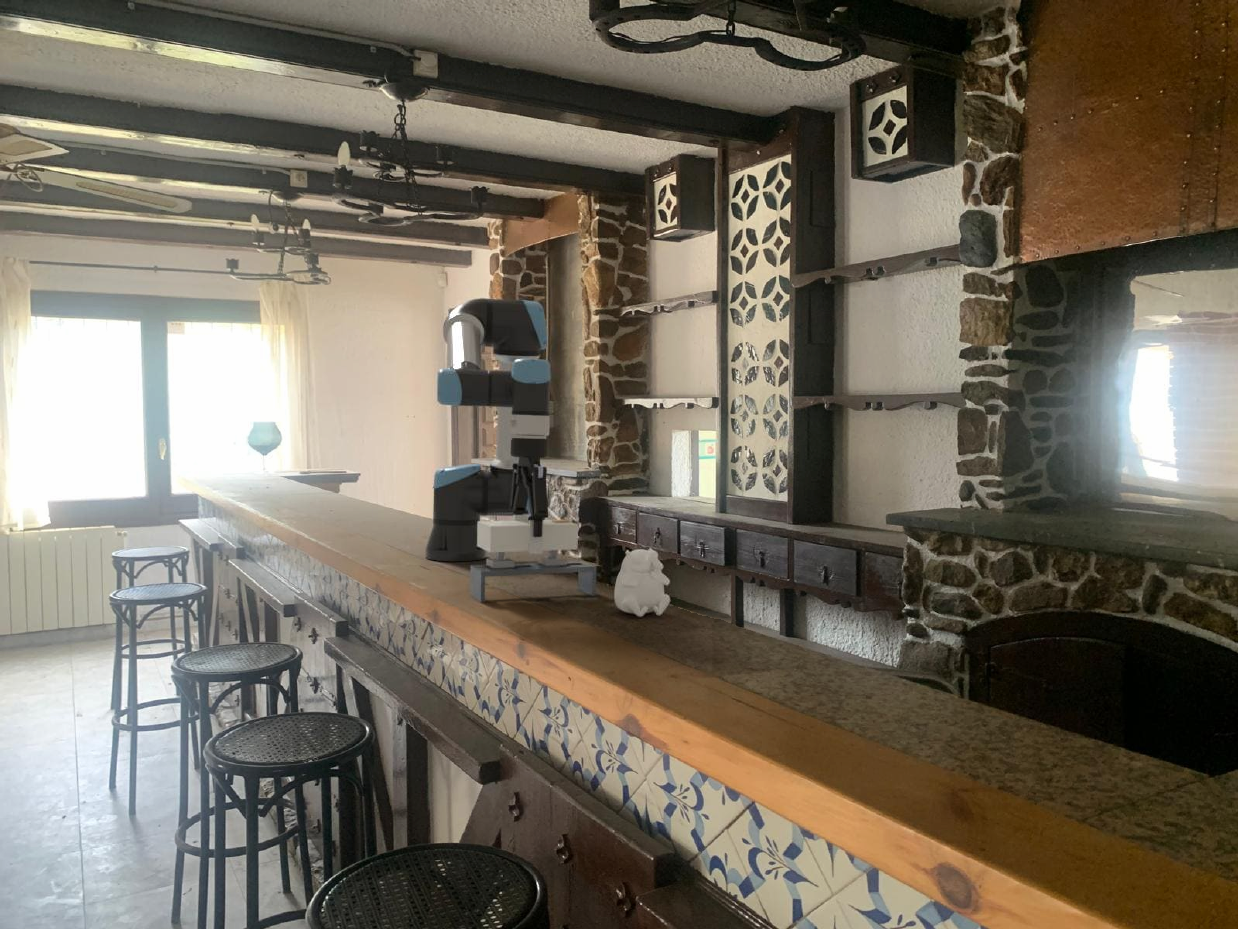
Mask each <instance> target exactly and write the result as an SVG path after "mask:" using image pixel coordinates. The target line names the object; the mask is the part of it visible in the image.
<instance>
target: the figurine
mask: <svg viewBox="0 0 1238 929" xmlns="http://www.w3.org/2000/svg"><path fill="white" fill-rule="evenodd" d="M624 553H625V557H624V558H623V560H622V563H621V567H620V571H619V572H618V575H617V577H616V581H615V585H614V596H613V597H614V603H615V606H616V607H617V609H618V610H620V611H623V612H624V613H627V614H631V615H632V614H633V615H636V616H637V617H640V618H641V617H643V616H644V615H645V614H650V613H651V612H655V614H656V616H661V615H663V613H664V612H665V610H666V609H667V608H668V606H669V604H670V603H671V597H670V595H669V594H667V593H665V587H664V586H666V587H667V586H669V585H670V582H671V581H670V579H669V578H668V577H667V576H666V575H665V574H664V572H662V570H663V569H664V564H663V563H662V562H661V561H660V559H659V553H658V551H656V550H654V549H652V548H651V547H650V548H649V549H639V548H638V549H635V550H634V549H633V550H632V551H629V549H626V551H625V552H624Z"/></svg>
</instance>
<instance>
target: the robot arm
mask: <svg viewBox="0 0 1238 929" xmlns="http://www.w3.org/2000/svg"><path fill="white" fill-rule="evenodd" d="M544 310H545V309H544V307H543V306H542V304H541V303H540V302H539V301H533V300H525V299H505V298H504V299H503V298H502V299H501V298H483V297H481V298H473V299H470V300H467V301H466V302H462V303H461V304H459V305H458V306H456V307H455V308H454V309H453V310H452V311H450V312H449V313H448V315H447V317H446V318H445V320H444V323H443V327H442V332H443V333H442V336H443V340H444V341H445V343H446V345H447V349H446V351H447V352H446V353H447V354H446V368H441V369H439V370H438V371H437V383H436V384H437V385H436V387H437V390H436V391H437V392H436V393H437V396H436V398H437V403H439V404H440V405H445V406H453V407H491V408H492V407H493V408H495V407H496V408H497V422H496V423H497V424H496V425H497V426H496V454H495V457H494V458H493V459H492V460H491V461H490V462H489V463H490V464H489V469H483V468H482V465H481V464H479V463H474V464H473V463H471V464H459V465H452V466H446V467H442V468H441V467H440V468H439V469H437V470H436V471H435V472H434V476H433V486H432V489H433V506H432V507H433V508H432V510H433V512H432V527H431V528H432V529H431V532H430V535H429V538H428V541H427V542H426V543H427V544H426V546H425V548H424V549H425V550H424V551H425V553H424V554H425V556H424V557H425V558H426V559H427V560H433V561H442V562H469V561H471V562H472V561H479V560H484V559H485V558H486V559H487V551H486V550H484V549H482V548H480V547H478V546H477V526H478V521H481V517H486V516H487V517H497V516H498V517H512V518H513V520H512V521H519V520H528V521H529V545H528V551H527V553H528V554H529V555H535V554H537V555H538V554H539V555H540V554H541V555H542V554H543V552H544V551H543V520H546V519H548V518H549V505H548V485H547V484H548V483H547V474H548V473H547V472H548V468H547V467H546V466H542V465H541V459H542V458H543V459H544V458H547V457H549V450H550V449H549V444H550V443H549V442H550V441H549V439H548V438H547V437H549V435H550V395H551V393H550V392H551V380H552V375H551V363H550V362H549V361H548V360H547V359H540V357H541V351H543V350H546V349H547V346H548V343H547V342H548V335H547V323H546V316H545V311H544ZM482 347H486V348H492V354H493V356H494V357H495V358H496V360H497V361H498V370H492V369H490V370H489V369H483V362H482V361H483V360H482Z"/></svg>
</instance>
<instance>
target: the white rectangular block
mask: <svg viewBox="0 0 1238 929" xmlns="http://www.w3.org/2000/svg"><path fill="white" fill-rule="evenodd" d="M578 536H579V524H578V523H575V522H572V521H570V520H567V519H545V520H543V552H544V551H548V555H545V556H538V563H541V564H543V565H546V566H550V565H567V560H568V559H567V558H566V557H564V556H560V555H557V554H558V551H564V550H569V551H570V550H578V544H579V542H578V540H579V537H578ZM528 545H529V521H528V519H527V520H519V521H513V520H484V521H483V520H480V521H478V526H477V546H478V547H480V548H482V549H484V550H486V552H488V553H496V557H495V558H493V557H491V558H486V562H485V565H488V566H490V567H492V568H504V567H515V564H516V563H515V560H514V559H511V558H510V557H505V553H509V552H510V553H512V552H513V553H514V552H516V553H517V552H528Z"/></svg>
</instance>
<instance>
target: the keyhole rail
mask: <svg viewBox="0 0 1238 929" xmlns="http://www.w3.org/2000/svg"><path fill="white" fill-rule="evenodd" d="M469 569H470V571H469V572H470V573H469V574H470V576H469V578H470V579H469V582H470V583H469V596H470V597H472V598H473V599H475V600H476V601H478V602H479V603H485V601H486V577H502V576H506V577H507V576H524V575H542V574H543V575H545V574H548V575H549V574H565V573H566V574H567V573H569V574H570V573H578V574H577V578H578V579H577V590H579V591H580V592H583V593H584V594H588V595H589V596H591V597H596V596H597V595H596V594H597V565H594V564H592V563H590V562H587V561H584V560H570V561H567V565H550V566H546V565H543V564H541V563H539V562H522V563H521V562H519V563H517V562H516V563H515V567H504V568H492V567H490V566H488V565H486V564H472V565H471V564H470V568H469Z"/></svg>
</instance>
